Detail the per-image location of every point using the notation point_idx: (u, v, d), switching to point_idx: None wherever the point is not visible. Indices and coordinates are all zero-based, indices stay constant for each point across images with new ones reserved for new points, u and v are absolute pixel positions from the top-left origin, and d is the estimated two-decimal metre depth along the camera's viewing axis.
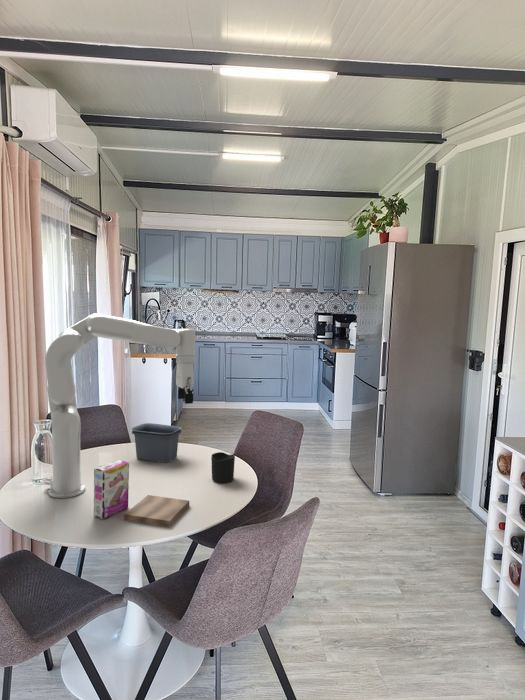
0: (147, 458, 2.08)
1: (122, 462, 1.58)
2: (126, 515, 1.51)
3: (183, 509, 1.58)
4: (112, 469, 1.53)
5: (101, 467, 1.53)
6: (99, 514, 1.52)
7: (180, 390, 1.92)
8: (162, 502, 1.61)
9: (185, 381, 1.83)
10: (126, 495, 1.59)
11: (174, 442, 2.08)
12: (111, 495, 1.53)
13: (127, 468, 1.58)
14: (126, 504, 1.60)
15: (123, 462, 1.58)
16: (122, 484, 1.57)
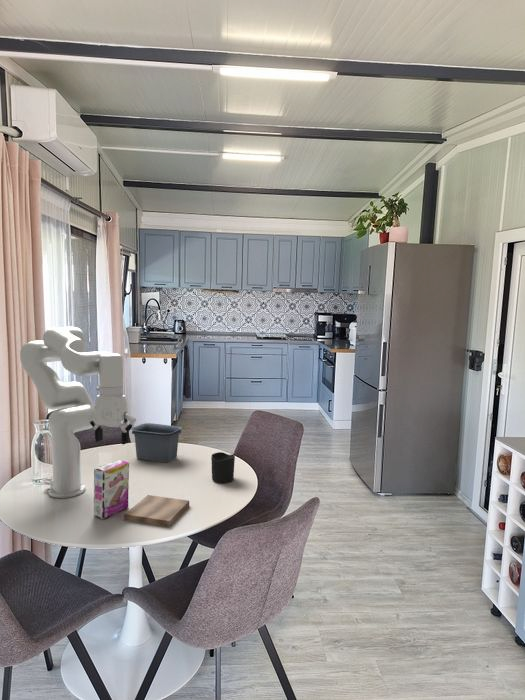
0: (147, 458, 2.08)
1: (122, 462, 1.58)
2: (126, 515, 1.51)
3: (183, 509, 1.58)
4: (112, 469, 1.53)
5: (101, 467, 1.53)
6: (99, 514, 1.52)
7: (98, 431, 1.54)
8: (162, 502, 1.61)
9: (122, 417, 1.51)
10: (126, 495, 1.59)
11: (174, 442, 2.08)
12: (111, 495, 1.53)
13: (127, 468, 1.58)
14: (126, 504, 1.60)
15: (123, 462, 1.58)
16: (122, 484, 1.57)
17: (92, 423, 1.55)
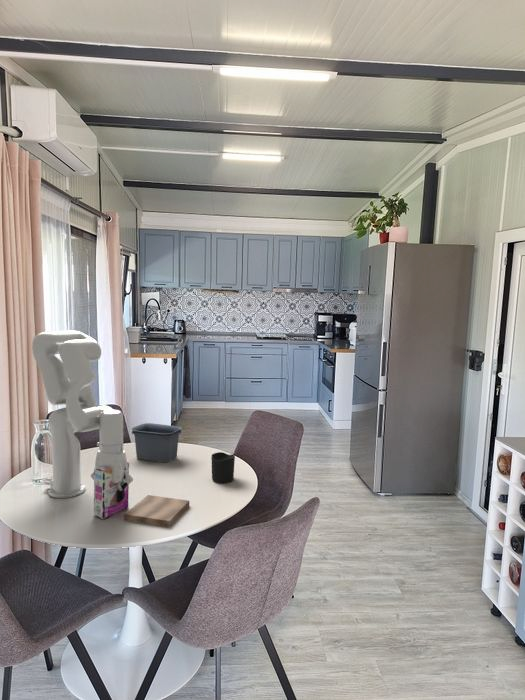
0: (147, 458, 2.08)
1: None
2: (126, 515, 1.51)
3: (183, 509, 1.58)
4: None
5: (101, 467, 1.53)
6: (99, 514, 1.52)
7: None
8: (162, 502, 1.61)
9: (122, 474, 1.53)
10: (126, 495, 1.59)
11: (174, 442, 2.08)
12: (111, 495, 1.53)
13: (127, 468, 1.58)
14: (127, 504, 1.60)
15: None
16: None
17: None
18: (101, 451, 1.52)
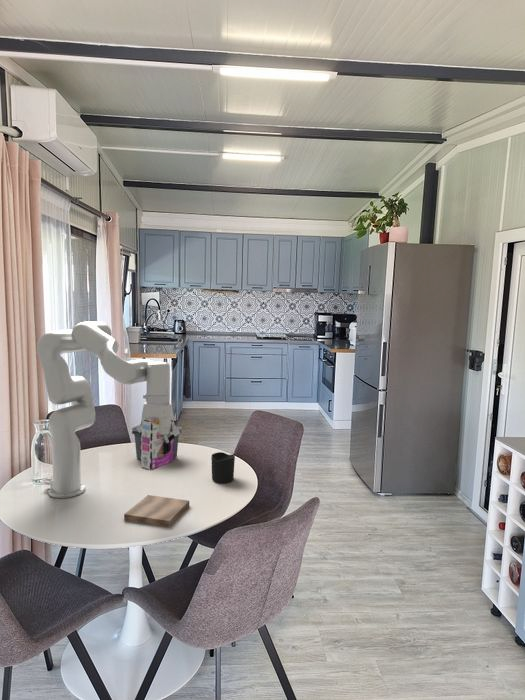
0: None
1: None
2: (126, 515, 1.51)
3: (183, 509, 1.58)
4: None
5: None
6: (146, 465, 1.50)
7: None
8: (162, 502, 1.61)
9: (170, 425, 1.51)
10: (171, 448, 1.58)
11: (174, 442, 2.08)
12: (158, 446, 1.51)
13: None
14: (172, 457, 1.58)
15: None
16: None
17: None
18: (148, 402, 1.50)
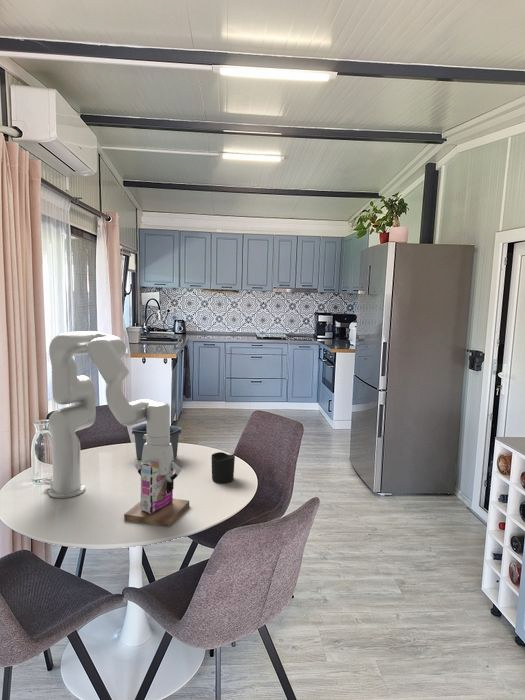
0: None
1: None
2: (126, 515, 1.51)
3: (183, 509, 1.58)
4: None
5: (147, 462, 1.53)
6: (147, 509, 1.52)
7: None
8: None
9: (170, 466, 1.53)
10: None
11: (174, 442, 2.08)
12: (158, 489, 1.53)
13: None
14: (171, 498, 1.60)
15: None
16: None
17: (140, 472, 1.56)
18: (149, 443, 1.52)
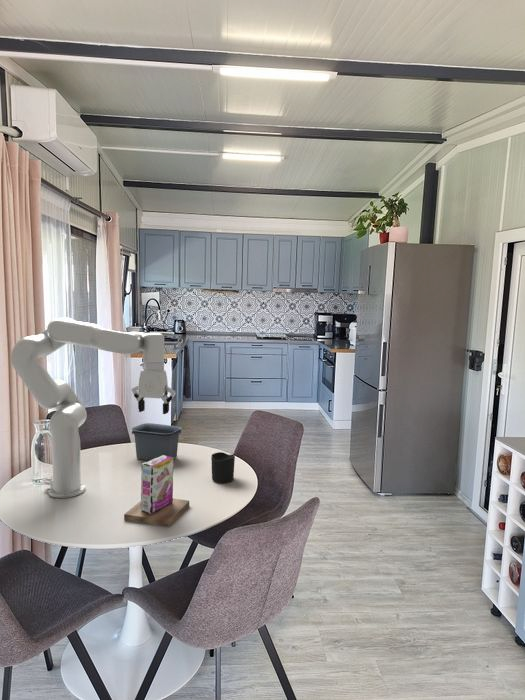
0: (147, 458, 2.08)
1: (167, 457, 1.58)
2: (126, 515, 1.51)
3: (183, 509, 1.58)
4: (159, 464, 1.53)
5: (148, 462, 1.53)
6: (147, 509, 1.52)
7: (141, 402, 1.72)
8: None
9: (164, 390, 1.68)
10: (171, 490, 1.59)
11: (174, 442, 2.08)
12: (158, 490, 1.53)
13: (172, 463, 1.59)
14: (171, 499, 1.60)
15: (168, 457, 1.59)
16: (168, 478, 1.57)
17: (136, 395, 1.72)
18: (145, 369, 1.67)
